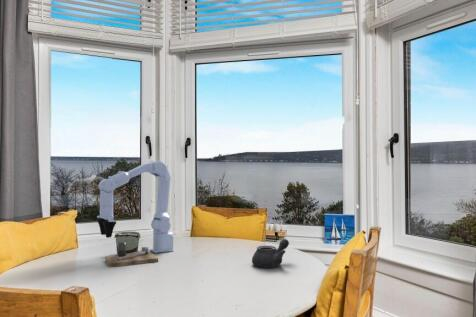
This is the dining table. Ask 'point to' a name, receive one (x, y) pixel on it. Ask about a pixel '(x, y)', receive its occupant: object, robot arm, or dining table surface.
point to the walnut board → (131, 260)
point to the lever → (123, 254)
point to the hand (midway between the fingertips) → (106, 236)
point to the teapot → (269, 255)
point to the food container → (128, 240)
